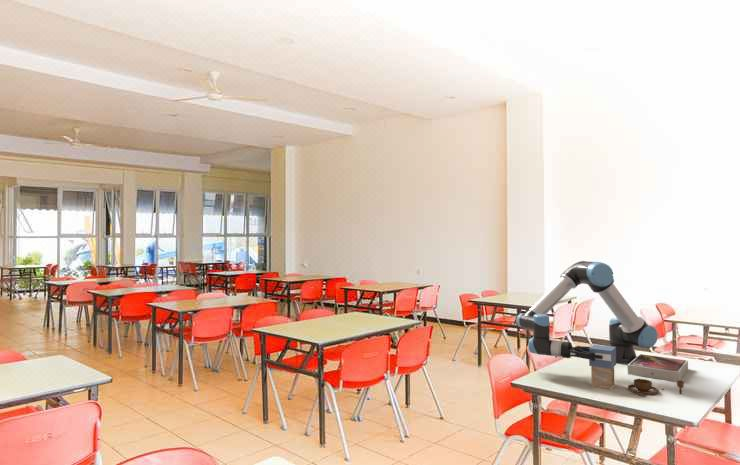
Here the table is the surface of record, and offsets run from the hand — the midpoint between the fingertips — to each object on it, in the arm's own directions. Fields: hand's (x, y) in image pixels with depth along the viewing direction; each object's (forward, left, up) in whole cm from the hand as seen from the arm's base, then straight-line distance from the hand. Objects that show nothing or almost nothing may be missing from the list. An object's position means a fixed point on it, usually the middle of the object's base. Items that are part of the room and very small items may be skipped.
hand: (613, 355), depth 226 cm
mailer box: (+1, -4, -14) cm, 15 cm away
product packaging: (-42, +1, -15) cm, 44 cm away
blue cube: (+1, -4, -5) cm, 7 cm away
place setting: (-5, +15, -15) cm, 21 cm away
